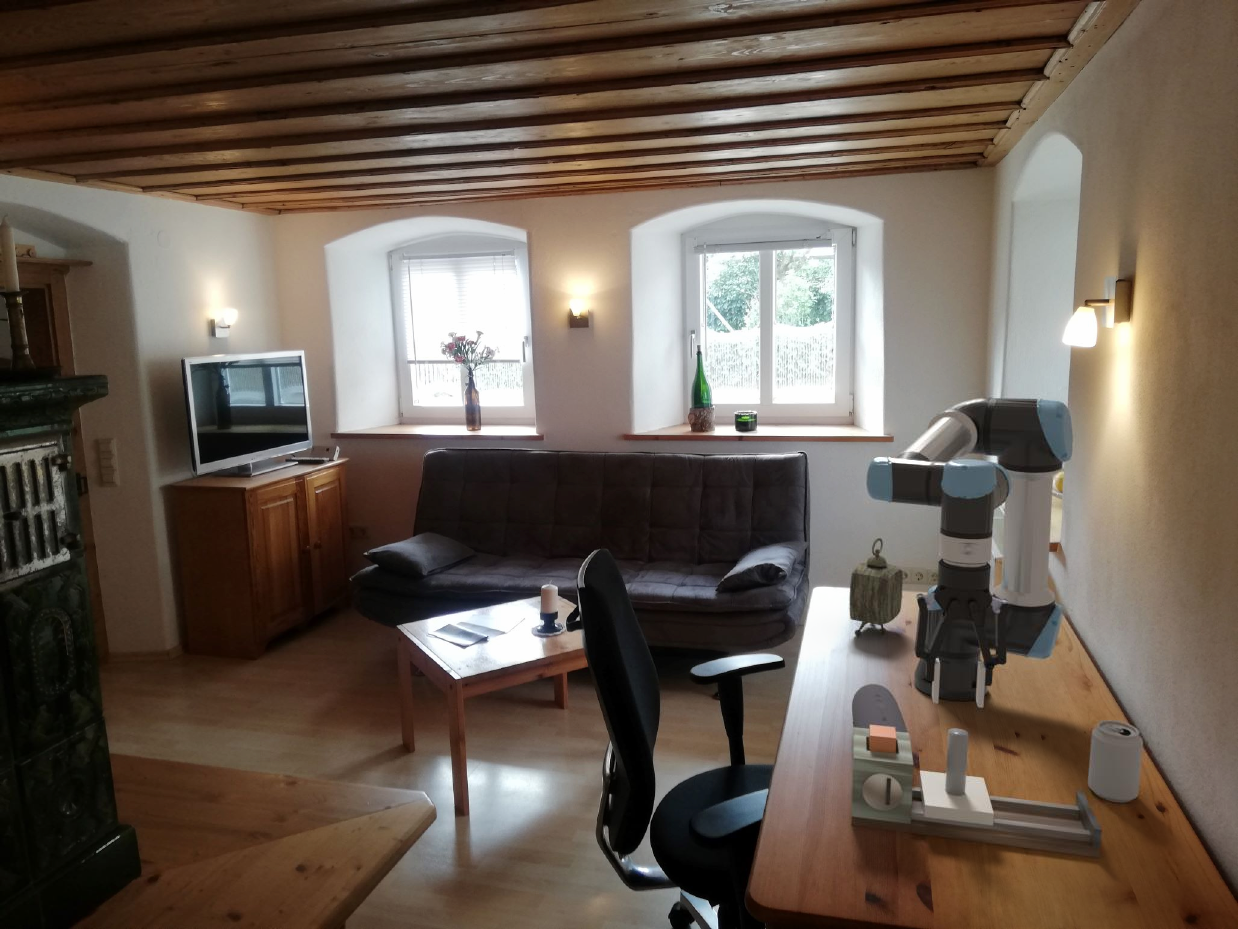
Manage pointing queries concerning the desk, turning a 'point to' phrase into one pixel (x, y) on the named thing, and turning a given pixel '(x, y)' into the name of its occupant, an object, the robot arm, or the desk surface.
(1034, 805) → the rail bed
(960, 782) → the carriage
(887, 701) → the bluetooth speaker
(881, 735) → the button
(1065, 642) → the desk surface
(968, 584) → the robot arm
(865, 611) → the tabletop clock
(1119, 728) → the can
